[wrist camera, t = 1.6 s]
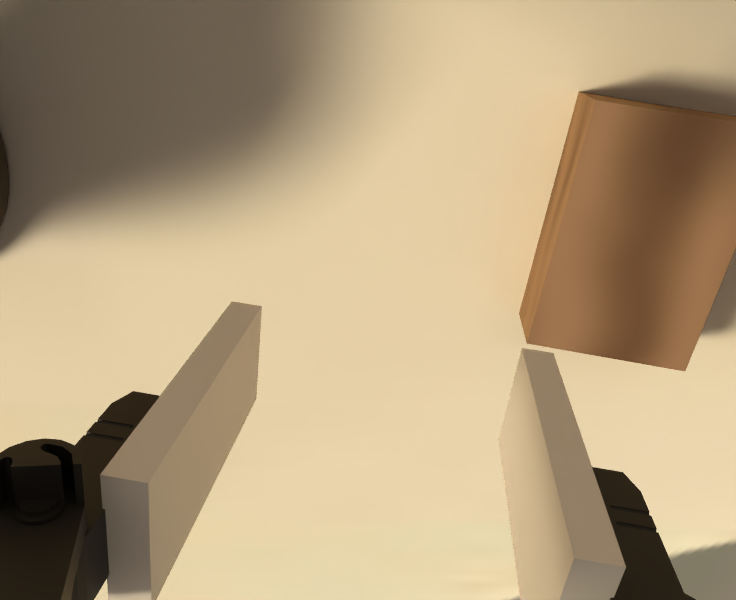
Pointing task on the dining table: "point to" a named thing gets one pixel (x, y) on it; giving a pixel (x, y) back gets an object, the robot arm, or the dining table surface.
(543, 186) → the dining table surface
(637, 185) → the wooden book-shaped slab
